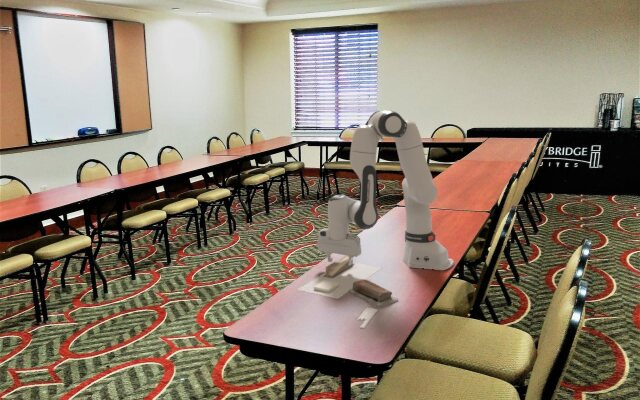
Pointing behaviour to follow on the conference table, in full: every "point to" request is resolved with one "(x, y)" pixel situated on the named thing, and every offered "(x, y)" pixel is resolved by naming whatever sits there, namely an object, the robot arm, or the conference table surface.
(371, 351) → the conference table surface
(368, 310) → the white notched flat strip
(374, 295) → the packaged product
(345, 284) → the mat
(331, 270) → the long tan strip
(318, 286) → the tile
